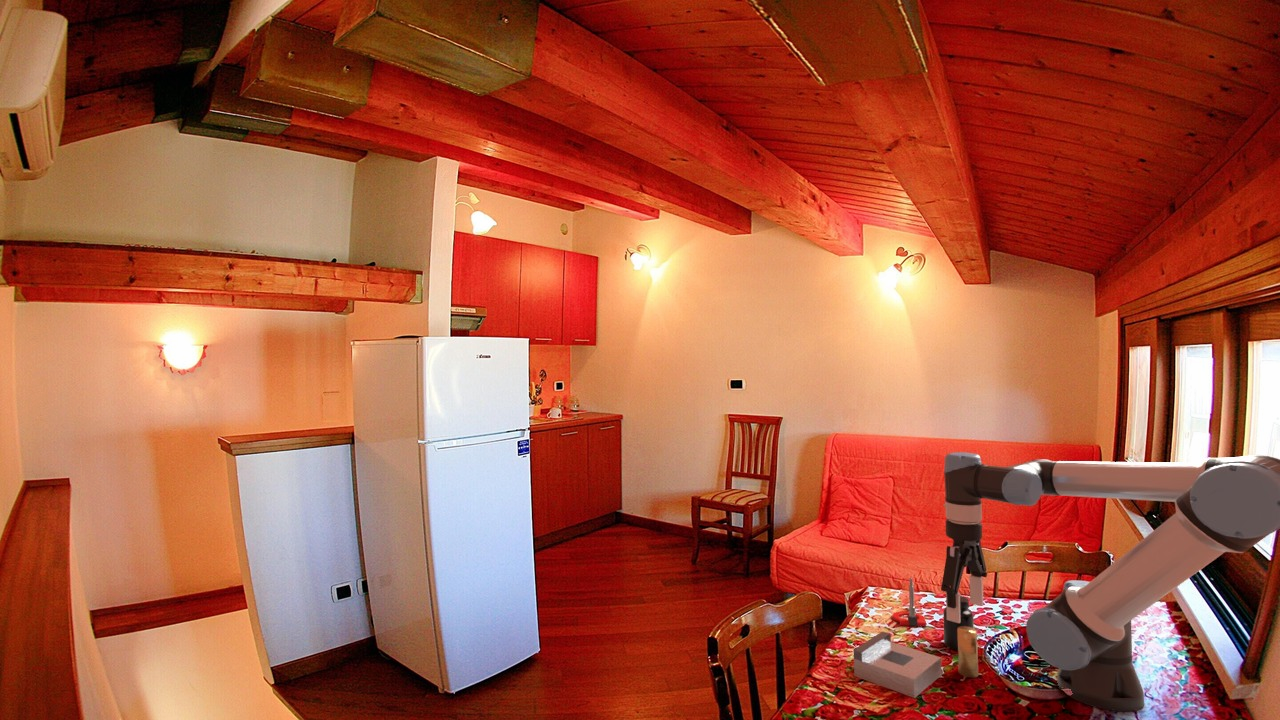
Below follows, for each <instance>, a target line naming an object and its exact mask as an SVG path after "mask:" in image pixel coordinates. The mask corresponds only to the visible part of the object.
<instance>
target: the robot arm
mask: <svg viewBox="0 0 1280 720" xmlns="http://www.w3.org/2000/svg"><path fill="white" fill-rule="evenodd" d="M943 469H944V470H943V474H944V475H943V476H944V493H945V498H944V499H945V503H943V507H944V508H945V518H946V520H945V535H946V536H947V538H949V539H951V540H952V541H953V542H952V546H948V545H947V546H946V556H945V563H944V568H943V575H942V582H941V587H940V590H941V591H942V592H945V601H946V603H945V605H946V606H945V607H946V612H947V620H949V621H953V622H956V623H960V622H961V620H960V596H961V592H959V589H960V586H961V582H962V577H963V574H964V569H965V567H968V569H969V572H970V573H971V574H970V575H969V604H972V605H977V606H980V607H982V606H984V580H983V579H984V578H987V577H988V573H987V565H986V562H985V557H984V553H983V548H982V542H981V541H982V538H983V525H982V521H983V507H982V505H983V504H982V499H986V500H991V501H997V502H1002V503H1005V504H1006V503H1007V504H1012V505H1013V506H1014V505H1015V506H1027V507H1028V506H1029V507H1030V506H1031V507H1032V506H1034V505H1036V504H1037V503H1038V501H1039V500H1041V497H1042V496H1059V497H1060V496H1061V497H1062V496H1064V497H1065V496H1067V497H1080V498H1081V497H1084V498H1102V499H1119V500H1135V501H1136V500H1137V501H1155V502H1156V501H1157V502H1173V503H1174V507H1175V513H1173V514H1172V515H1171V516H1170V517H1169V518H1167V519H1166V520H1165V521H1164V522H1163V523H1161V524H1160V525H1159V526H1158V527H1157V528H1155V529H1154V530H1153V531H1151V532H1150V533H1149V534H1148V535H1147V536H1145V537H1144V538H1143V539H1142V540H1140V541H1139V542H1138V543H1137V544H1135V545H1134V546H1133V547H1131V548H1130V549H1129V550H1127V552H1126V553H1124V554H1123V555H1121V557H1119V558H1118V559H1116V561H1115V562H1113V563H1112V564H1111V565H1109V566H1108V567H1107V568H1106V569H1104V570H1103V571H1102V572H1100V573H1099V574H1098V575H1097V576H1096V577H1095V578H1093V579H1092V580H1090V581H1086V580H1075V579H1074V580H1073V579H1072V580H1067V581H1065V582H1064V584H1063V589H1062V592H1061V593H1060V594H1059V595H1058V596H1057V597H1055V598H1054V599H1053V600H1051V601H1050V602H1048V604H1046V605H1044V606H1043V607H1041V608H1038V609H1035V611H1033V612H1032V614H1031V615H1030V616H1028V619H1027V621H1026V625H1025V627H1026V629H1025V630H1026V634H1027V636H1026V637H1027V639H1028V641H1029V644H1030V646H1031V647H1032V648H1033V650H1034V651H1035V652H1036V654H1037V655H1038V656H1039V657H1040V658H1041V659H1042V660H1043V661H1045V662H1046V663H1048V664H1049V665H1051V666H1053V667H1055V668H1057V669H1058V670H1057V673H1056V674H1057V675H1056V676H1057V683H1058V684H1057V686H1060V687H1066V688H1069V689H1071V691H1072V693H1073V694H1072V695H1071V696H1070V697H1069V698H1071V699H1073V700H1075V701H1077V702H1080V703H1082V704H1084V705H1087V706H1091V707H1093V708H1098V709H1101V710H1105V711H1106V710H1108V711H1113V712H1114V711H1115V712H1132V711H1133V712H1134V711H1137V710H1140V709H1141V708H1143V707H1144V705H1145V693H1144V689H1143V686H1142V685H1141V681H1140V678H1139V676H1138V674H1137V671H1136V669H1135V666H1134V663H1133V645H1132V644H1133V640H1132V638H1133V637H1132V633H1133V631H1132V620H1134V619H1135V618H1136V617H1138V616H1139V615H1141V614H1142V613H1143V612H1145V611H1146V610H1148V609H1149V608H1150V607H1151V606H1153V605H1154V604H1156V603H1157V602H1158V601H1160V600H1161V599H1163V598H1164V597H1165V596H1167V595H1168V594H1169V593H1171V592H1172V591H1173V590H1175V589H1176V588H1178V587H1179V586H1180V585H1182V584H1183V583H1184V582H1186V581H1187V580H1189V579H1190V578H1192V576H1194V575H1195V574H1196V573H1198V572H1200V571H1201V570H1203V568H1205V567H1206V566H1208V565H1209V564H1210V563H1212V562H1213V561H1215V560H1217V558H1219V557H1220V556H1222V555H1224V553H1235V554H1243V553H1245V552H1247V551H1248V550H1249V549H1250V548H1252V547H1254V546H1255V545H1257V544H1258V543H1259V542H1261V541H1262V540H1263V539H1265V538H1266V537H1268V536H1269V535H1270V534H1273V533H1274V532H1277V531H1278V530H1280V458H1277V457H1275V456H1274V457H1272V456H1268V455H1261V454H1260V455H1259V454H1256V455H1254V454H1253V455H1245V456H1243V455H1242V456H1235V457H1207V458H1205V459H1204V460H1203V461H1202V462H1134V461H1133V462H1131V461H1127V462H1126V461H1116V462H1115V461H1112V462H1111V461H1067V460H1066V461H1064V460H1063V461H1061V460H1059V461H1054V460H1053V461H1052V460H1050V459H1043V458H1042V459H1031V460H1030V461H1026V462H1022V463H1019V464H1013V465H1009V466H997V465H987V464H983V463H982V459H981V456H980V455H979V454H978V453H972V452H965V451H964V452H961V451H960V452H959V451H958V452H950V453H947V454H946V455H945V456H944V468H943Z"/></svg>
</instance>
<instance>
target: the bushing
mask: <svg viewBox="0 0 1280 720" xmlns="http://www.w3.org/2000/svg"><path fill="white" fill-rule="evenodd" d="M957 631H958V650H957V653H958V654H957V657H958V658H957V659H958V660H957V661H958V673H959V675H961V676H963V677H967V678H970V679H971V678H972V679H973V678H977V677H979V659H978V657H979V655H978V653H979V652H978V630H977V629H975V628H971V627H966V626H961V627H958V628H957Z"/></svg>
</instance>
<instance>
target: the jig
mask: <svg viewBox="0 0 1280 720" xmlns="http://www.w3.org/2000/svg"><path fill="white" fill-rule="evenodd" d="M853 669H854V670H853V671H854V672H853V673H854V674H853V675H854V677H857V678H858V679H861V680H865V681H867V682H870V683H872V684H875V685H878V686H881V687H883V688H885V689H889V690H892V691H894V692H898V693H899V694H903V695H905V696H907V697H911V698H914V699H916V697H918V696H919V695H920V694H922V692H923V691H925V690H926V689H927V688H928V687H929V686H931V685H932V684H933V683H934V682H935V681H936V680H938V679H939V678H940V677H941V676H942V674H943V673H942V657H940V656H937V655H935V654H931V653H929V652H928V653H927V652H924V651H921V650H918V649H914V648H911V647H909V646H906V645H905V646H904V645H902V644H899V643H895V642H893V641H891V633H889V632H888V631H887V632H886V631H884V630H883V631H881V632H879V633H878V634H876V635H874V636H873V637H872V638H870V639H869V640H866V641H865V642H864V643H862V644H860V645H859V646H857V647H856V648H854V649H853Z"/></svg>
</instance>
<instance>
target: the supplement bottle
mask: <svg viewBox="0 0 1280 720" xmlns="http://www.w3.org/2000/svg"><path fill="white" fill-rule="evenodd" d="M969 608H970V599H969V598H967V597H965V596H963V595H960V620H961V622H960V623H956V622H953V621H949V620H947V612H946V606H945V607H944V609H943V643H944V645H945V646H946V647H948V648H949V649H952V650H954V651H958V631H957V628H958V627H961V626H966V627H971V628H974V627H975V625H974V623H975V622H974V619H975V618H974V613H973V612H972V611H971V610H970V609H969ZM974 629H975V628H974Z"/></svg>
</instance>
